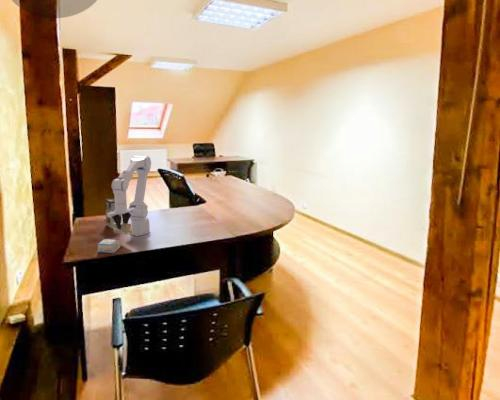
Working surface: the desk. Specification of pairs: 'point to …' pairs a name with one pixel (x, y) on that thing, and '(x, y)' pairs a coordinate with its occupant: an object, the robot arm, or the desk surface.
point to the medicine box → (109, 245)
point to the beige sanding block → (123, 229)
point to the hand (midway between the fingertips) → (122, 227)
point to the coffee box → (110, 208)
